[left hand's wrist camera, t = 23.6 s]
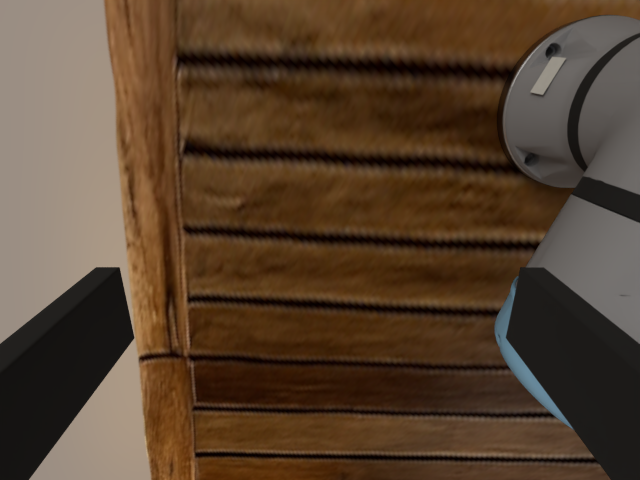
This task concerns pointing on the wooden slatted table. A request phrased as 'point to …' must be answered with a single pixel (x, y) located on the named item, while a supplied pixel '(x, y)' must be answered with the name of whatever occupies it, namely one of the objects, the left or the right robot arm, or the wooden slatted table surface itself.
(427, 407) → the wooden slatted table surface
